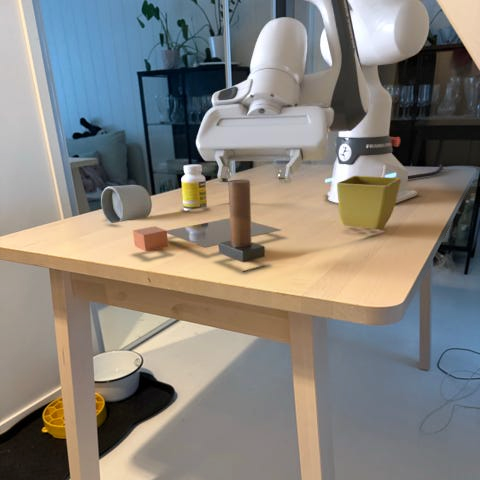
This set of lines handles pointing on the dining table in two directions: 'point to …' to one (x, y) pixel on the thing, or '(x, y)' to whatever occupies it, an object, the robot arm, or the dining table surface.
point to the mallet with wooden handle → (240, 225)
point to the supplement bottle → (193, 187)
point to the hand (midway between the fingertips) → (253, 180)
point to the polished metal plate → (215, 232)
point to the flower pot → (367, 200)
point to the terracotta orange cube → (150, 238)
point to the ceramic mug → (125, 203)
